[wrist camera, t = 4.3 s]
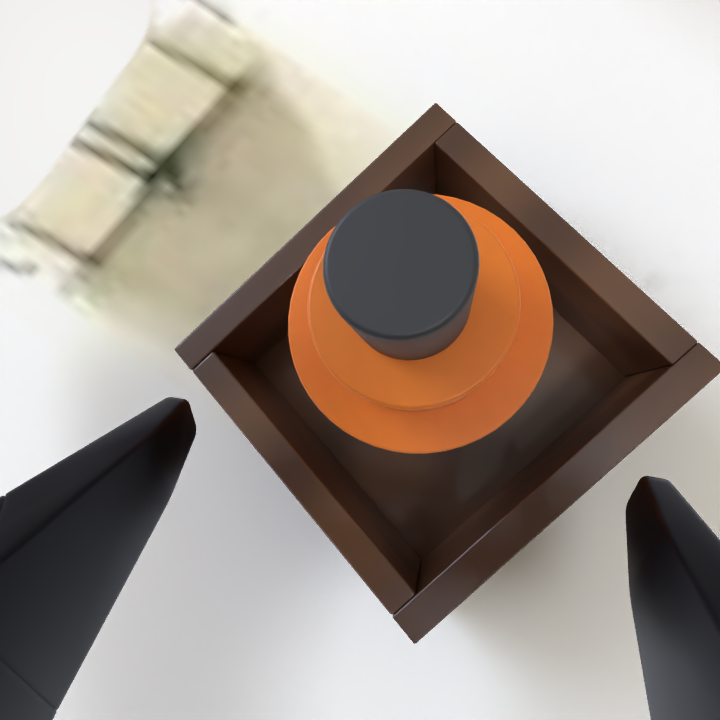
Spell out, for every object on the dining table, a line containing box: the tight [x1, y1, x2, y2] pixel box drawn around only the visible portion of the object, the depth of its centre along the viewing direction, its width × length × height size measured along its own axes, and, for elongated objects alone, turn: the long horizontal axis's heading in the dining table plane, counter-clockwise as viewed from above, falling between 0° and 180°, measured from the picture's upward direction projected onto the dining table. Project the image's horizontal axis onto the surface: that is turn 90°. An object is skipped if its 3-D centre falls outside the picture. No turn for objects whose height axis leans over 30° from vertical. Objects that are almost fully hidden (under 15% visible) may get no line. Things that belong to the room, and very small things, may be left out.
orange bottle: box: [288, 189, 553, 453], centre depth 13 cm, size 5×5×14 cm
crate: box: [175, 103, 720, 643], centre depth 18 cm, size 12×12×5 cm
